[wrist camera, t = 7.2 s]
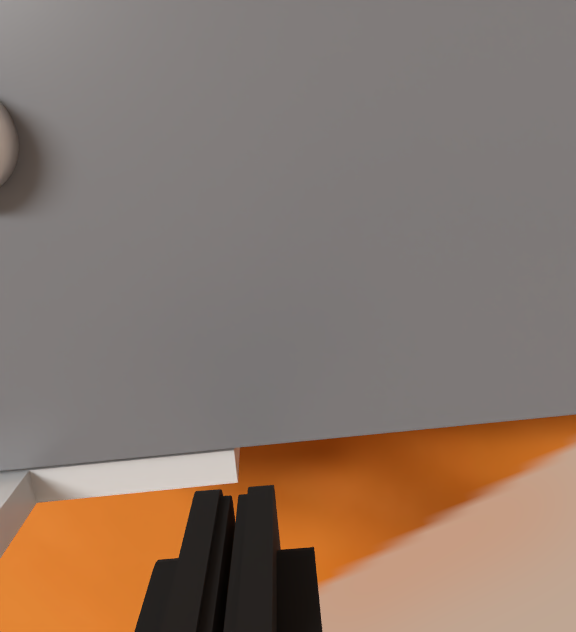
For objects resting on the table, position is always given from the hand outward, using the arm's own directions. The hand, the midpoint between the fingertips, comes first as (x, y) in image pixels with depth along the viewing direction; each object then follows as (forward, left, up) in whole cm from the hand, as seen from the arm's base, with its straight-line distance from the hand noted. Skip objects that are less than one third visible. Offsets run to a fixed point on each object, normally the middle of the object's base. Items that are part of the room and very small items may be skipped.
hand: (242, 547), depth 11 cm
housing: (-1, -7, -12) cm, 14 cm away
